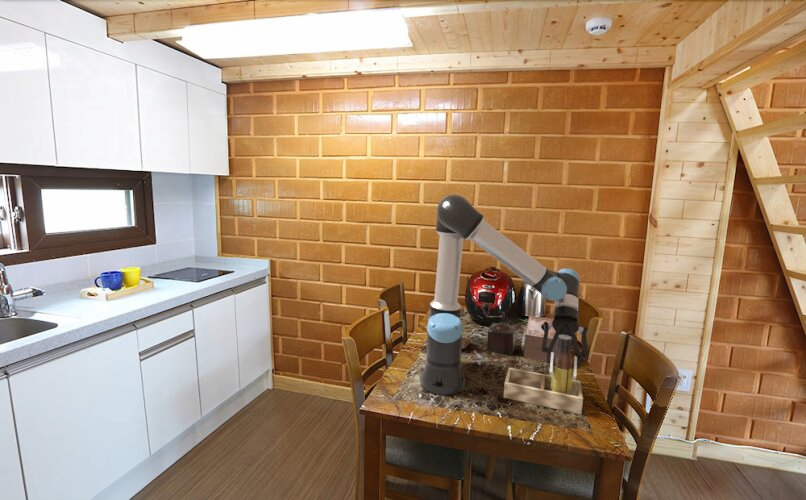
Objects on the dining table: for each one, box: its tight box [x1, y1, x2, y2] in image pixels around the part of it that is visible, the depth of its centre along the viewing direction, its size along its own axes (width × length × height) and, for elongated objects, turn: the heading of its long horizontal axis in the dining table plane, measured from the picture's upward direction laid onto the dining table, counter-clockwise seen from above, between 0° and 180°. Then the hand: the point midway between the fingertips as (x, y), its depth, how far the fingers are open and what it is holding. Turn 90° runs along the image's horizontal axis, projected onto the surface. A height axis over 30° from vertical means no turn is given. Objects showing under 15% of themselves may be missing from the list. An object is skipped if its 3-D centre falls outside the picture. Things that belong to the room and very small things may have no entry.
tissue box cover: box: [523, 315, 558, 362], centre depth 161 cm, size 26×14×10 cm, turn 158°
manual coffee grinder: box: [481, 302, 517, 356], centre depth 160 cm, size 16×11×18 cm
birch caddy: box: [503, 367, 584, 415], centre depth 123 cm, size 23×12×5 cm, turn 68°
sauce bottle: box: [551, 335, 574, 395], centre depth 119 cm, size 6×6×20 cm
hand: (562, 375), depth 116 cm, fingers closed on sauce bottle, 6 cm apart
